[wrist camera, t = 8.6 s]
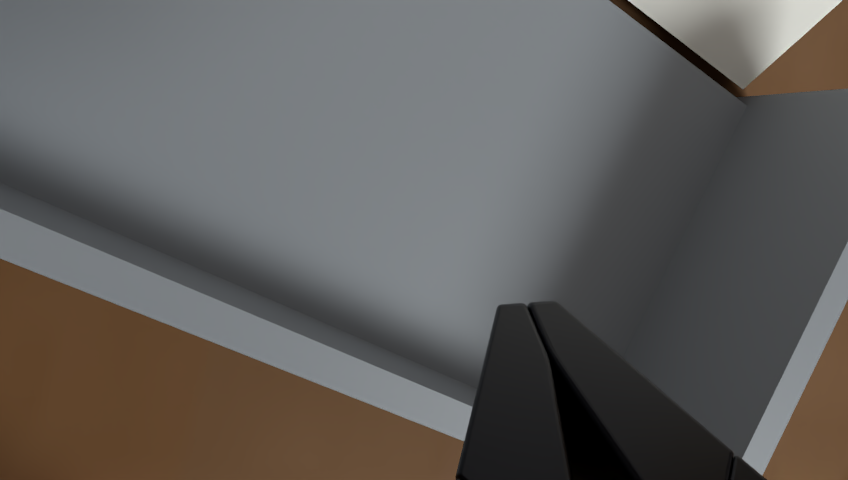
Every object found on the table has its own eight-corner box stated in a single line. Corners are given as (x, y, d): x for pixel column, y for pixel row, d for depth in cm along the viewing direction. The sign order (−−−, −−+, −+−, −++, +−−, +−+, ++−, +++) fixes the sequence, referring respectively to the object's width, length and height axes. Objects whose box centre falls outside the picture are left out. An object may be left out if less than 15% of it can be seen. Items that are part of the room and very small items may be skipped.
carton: (580, 458, 25) (716, 569, 19) (-173, 146, 16) (-414, 150, 10) (752, 110, 26) (944, 100, 19) (106, -382, 17) (54, -716, 10)
